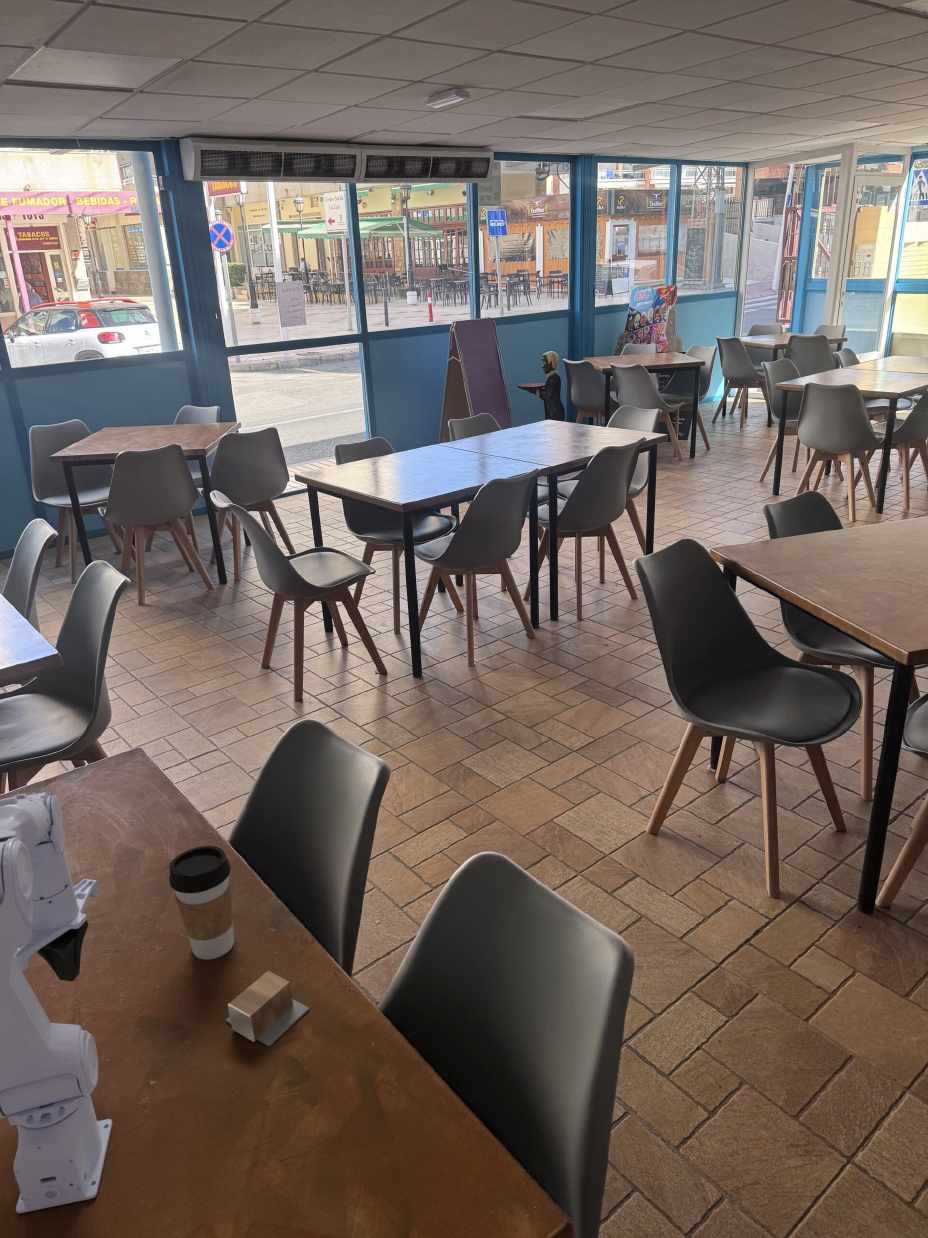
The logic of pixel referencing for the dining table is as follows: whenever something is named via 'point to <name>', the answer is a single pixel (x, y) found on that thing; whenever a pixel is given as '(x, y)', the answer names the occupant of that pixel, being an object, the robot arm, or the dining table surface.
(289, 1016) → the slate mat
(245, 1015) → the walnut block
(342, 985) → the dining table surface
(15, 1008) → the robot arm
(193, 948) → the coffee cup
